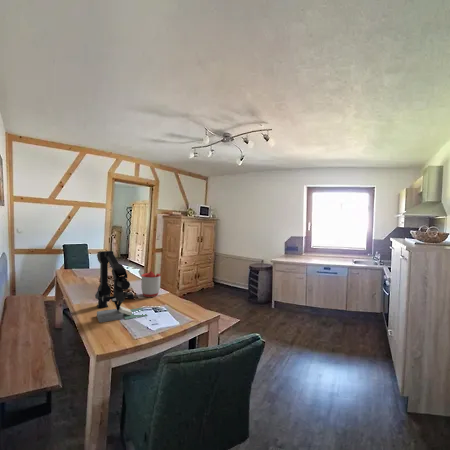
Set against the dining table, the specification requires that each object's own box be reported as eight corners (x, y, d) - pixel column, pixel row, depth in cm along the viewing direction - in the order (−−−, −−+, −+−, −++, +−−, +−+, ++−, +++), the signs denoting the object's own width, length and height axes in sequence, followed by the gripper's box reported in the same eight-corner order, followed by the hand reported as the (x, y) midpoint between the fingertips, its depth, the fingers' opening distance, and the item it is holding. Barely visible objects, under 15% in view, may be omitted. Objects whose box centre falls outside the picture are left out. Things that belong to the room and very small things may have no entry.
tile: (117, 308, 182) (118, 305, 182) (128, 312, 186) (129, 309, 186) (119, 311, 176) (121, 309, 176) (130, 315, 180) (132, 312, 180)
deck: (96, 316, 178) (96, 311, 178) (119, 312, 185) (119, 308, 185) (99, 322, 168) (99, 317, 168) (123, 318, 175) (123, 314, 175)
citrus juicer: (163, 292, 236) (164, 269, 235) (156, 298, 219) (157, 273, 218) (145, 291, 238) (146, 268, 237) (137, 297, 220) (138, 272, 220)
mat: (120, 311, 188) (120, 310, 188) (141, 308, 195) (141, 307, 195) (125, 319, 174) (125, 318, 174) (147, 315, 182) (147, 315, 182)
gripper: (104, 291, 167) (104, 316, 167) (136, 287, 177) (135, 311, 177) (102, 286, 176) (101, 310, 177) (132, 283, 186) (131, 306, 187)
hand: (117, 310), depth 179 cm, fingers closed
